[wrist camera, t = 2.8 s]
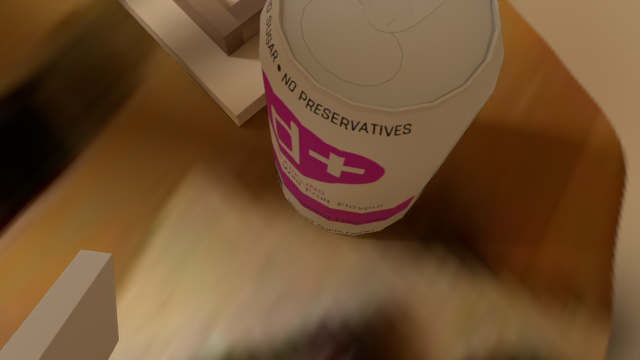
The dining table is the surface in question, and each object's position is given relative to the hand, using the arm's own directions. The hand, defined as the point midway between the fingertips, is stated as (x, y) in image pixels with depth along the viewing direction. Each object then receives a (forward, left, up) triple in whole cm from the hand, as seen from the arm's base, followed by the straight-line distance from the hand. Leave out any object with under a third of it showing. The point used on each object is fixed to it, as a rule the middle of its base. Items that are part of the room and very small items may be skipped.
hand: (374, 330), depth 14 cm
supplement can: (-7, +7, -16) cm, 19 cm away
